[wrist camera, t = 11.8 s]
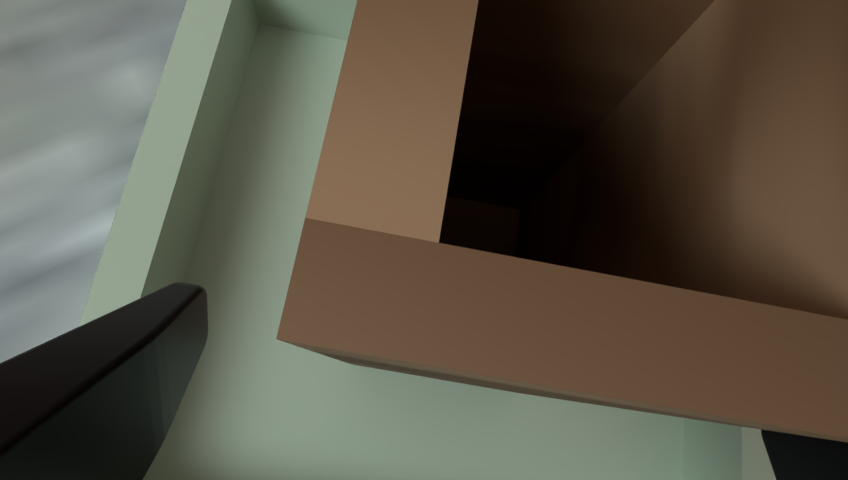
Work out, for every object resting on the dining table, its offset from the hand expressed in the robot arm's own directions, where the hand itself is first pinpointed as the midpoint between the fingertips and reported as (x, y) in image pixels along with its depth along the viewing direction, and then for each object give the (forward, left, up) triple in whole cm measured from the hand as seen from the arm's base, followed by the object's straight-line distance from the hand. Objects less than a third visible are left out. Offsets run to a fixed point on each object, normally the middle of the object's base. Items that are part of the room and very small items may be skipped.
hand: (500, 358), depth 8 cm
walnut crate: (+2, +1, -8) cm, 8 cm away
